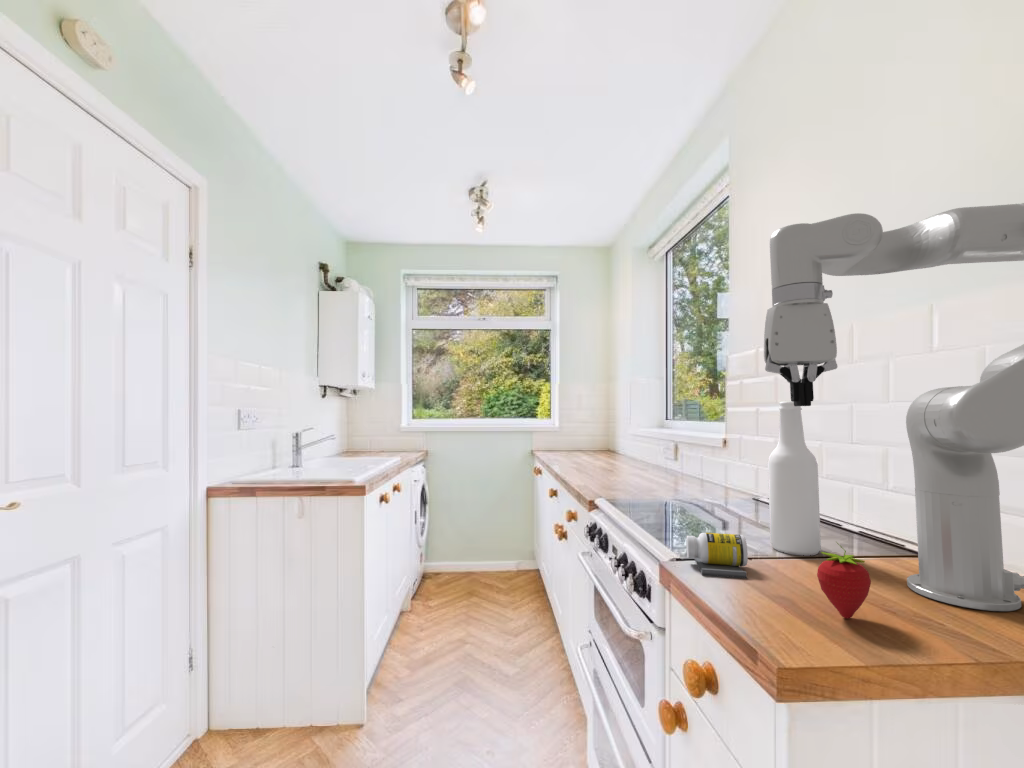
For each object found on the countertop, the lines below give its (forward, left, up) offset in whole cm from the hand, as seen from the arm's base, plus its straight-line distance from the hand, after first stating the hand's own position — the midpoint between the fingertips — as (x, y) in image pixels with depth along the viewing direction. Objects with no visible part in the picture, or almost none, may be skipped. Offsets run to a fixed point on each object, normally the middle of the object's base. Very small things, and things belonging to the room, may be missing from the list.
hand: (802, 405), depth 80 cm
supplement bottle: (+8, -5, -26) cm, 28 cm away
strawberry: (+1, +15, -29) cm, 33 cm away
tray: (+13, -5, -29) cm, 32 cm away
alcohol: (-4, -19, -29) cm, 35 cm away
